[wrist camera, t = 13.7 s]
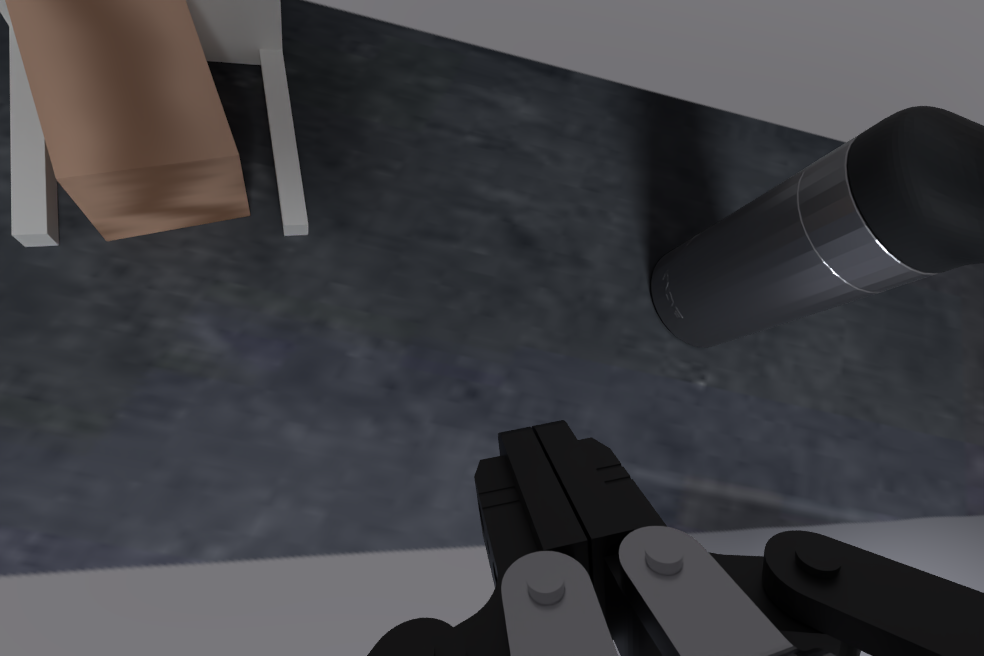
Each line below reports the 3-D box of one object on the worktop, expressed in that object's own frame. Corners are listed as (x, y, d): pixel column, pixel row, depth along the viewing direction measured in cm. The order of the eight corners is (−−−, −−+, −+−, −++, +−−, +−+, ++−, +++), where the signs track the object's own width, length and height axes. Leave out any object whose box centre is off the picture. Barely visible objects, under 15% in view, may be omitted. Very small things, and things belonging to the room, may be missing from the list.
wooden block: (198, 63, 35) (175, -29, 28) (250, 216, 33) (239, 155, 27) (57, 71, 31) (-4, -31, 25) (107, 242, 30) (55, 178, 23)
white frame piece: (280, 49, 37) (275, -54, 30) (307, 234, 34) (310, 168, 27) (21, 26, 31) (-62, -111, 24) (25, 247, 28) (-70, 166, 21)
